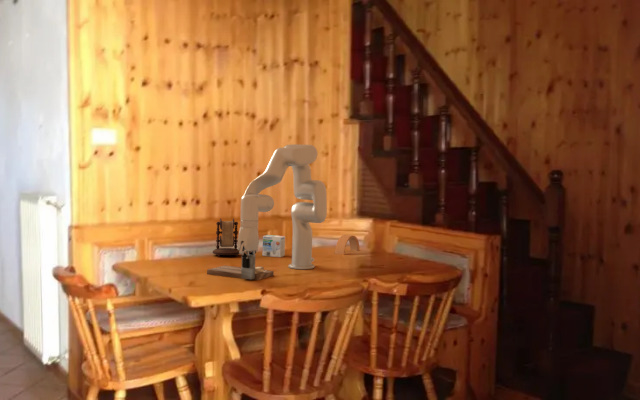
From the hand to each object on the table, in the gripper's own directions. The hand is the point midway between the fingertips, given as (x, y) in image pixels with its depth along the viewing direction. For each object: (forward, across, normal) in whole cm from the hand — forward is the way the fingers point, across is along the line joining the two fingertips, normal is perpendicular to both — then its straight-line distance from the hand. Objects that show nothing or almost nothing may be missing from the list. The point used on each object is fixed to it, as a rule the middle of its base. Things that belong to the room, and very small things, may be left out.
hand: (248, 266), depth 285 cm
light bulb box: (+6, -68, -27) cm, 73 cm away
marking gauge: (+5, -5, 0) cm, 7 cm away
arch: (+6, -105, 0) cm, 105 cm away
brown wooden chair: (+6, -53, -47) cm, 71 cm away
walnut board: (+6, -9, -10) cm, 14 cm away
